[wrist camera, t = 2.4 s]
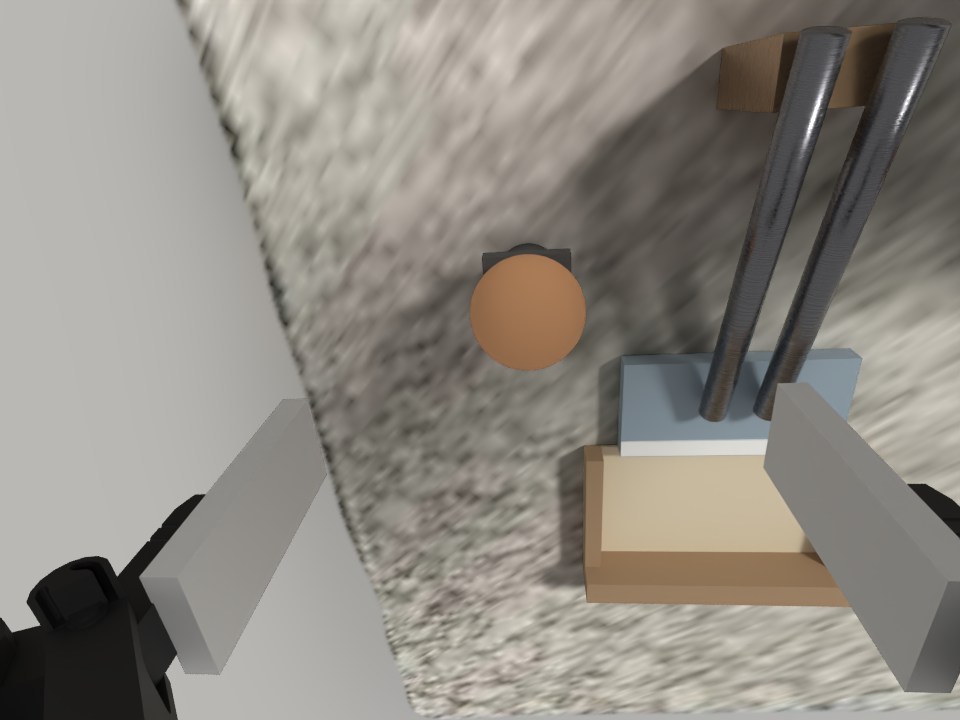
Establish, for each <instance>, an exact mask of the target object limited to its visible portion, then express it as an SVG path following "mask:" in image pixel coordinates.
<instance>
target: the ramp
mask: <svg viewBox="0 0 960 720" xmlns="http://www.w3.org/2000/svg"><path fill="white" fill-rule="evenodd" d="M951 25H952V23H951V22H950V21H947V20H944V19H939V18H929V17H916V18H906V19H902V20H899V21H898V22H897V23H891V24H880V25H869V26H858V27H847V28H843V27H836V26H817V27H810V28H806V29H804V30H802V31H801V32H792V33H783V34H779V35H774V36H770V37H766V38H762V39H758V40H754V41H750V42H745V43H741V44H737V45H733V46H729V47H725V48H723V49H722V59H721V69H720V79H719V89H718V98H717V108H716V109H729V110H742V111H755V112H768V113H777V112H779V115H778V119H777V122H776V126H775V130H774V133H773V137H772V141H771V144H770V148H769V152H768V155H767V159H766V163H765V167H764V170H763V174H762V178H761V181H760V185H759V189H758V192H757V196H756V200H755V203H754V207H753V211H752V214H751V218H750V222H749V226H748V229H747V233H746V237H745V240H744V244H743V248H742V251H741V255H740V259H739V262H738V266H737V270H736V273H735V277H734V281H733V285H732V288H731V292H730V296H729V299H728V303H727V307H726V310H725V314H724V318H723V321H722V325H721V329H720V332H719V336H718V340H717V343H716V347H715V351H714V355H713V358H712V362H711V366H710V369H709V373H708V377H707V380H706V384H705V388H704V391H703V395H702V399H701V402H700V406H699V414H700V415H701V417H702V418H704V419H705V420H707V421H710V422H721V421H723V420H724V419H725V418H726V415H727V412H728V409H729V406H730V403H731V400H732V397H733V394H734V391H735V388H736V385H737V382H738V379H739V376H740V373H741V370H742V367H743V364H744V361H745V358H746V355H747V351H748V348H749V345H750V342H751V339H752V336H753V333H754V330H755V327H756V324H757V321H758V318H759V315H760V312H761V309H762V306H763V303H764V300H765V297H766V294H767V291H768V288H769V284H770V281H771V278H772V275H773V272H774V269H775V266H776V263H777V260H778V257H779V254H780V251H781V248H782V245H783V242H784V239H785V236H786V233H787V230H788V227H789V224H790V221H791V218H792V214H793V211H794V208H795V205H796V202H797V199H798V196H799V193H800V190H801V187H802V184H803V181H804V178H805V175H806V172H807V169H808V166H809V163H810V160H811V157H812V154H813V151H814V147H815V144H816V141H817V138H818V135H819V132H820V129H821V126H822V123H823V120H824V117H825V114H826V111H827V109H829V108H843V107H856V106H865V109H864V112H863V114H862V117H861V120H860V122H859V125H858V128H857V130H856V133H855V136H854V138H853V141H852V144H851V146H850V149H849V152H848V154H847V157H846V160H845V162H844V165H843V168H842V170H841V173H840V176H839V178H838V181H837V184H836V186H835V189H834V192H833V194H832V197H831V200H830V202H829V205H828V208H827V210H826V213H825V216H824V219H823V221H822V224H821V227H820V229H819V232H818V235H817V237H816V240H815V243H814V245H813V248H812V251H811V253H810V256H809V259H808V261H807V264H806V267H805V269H804V272H803V275H802V277H801V280H800V283H799V285H798V288H797V291H796V293H795V296H794V299H793V301H792V304H791V307H790V309H789V312H788V315H787V318H786V320H785V323H784V326H783V328H782V331H781V334H780V336H779V339H778V342H777V344H776V347H775V350H774V352H773V355H772V358H771V360H770V363H769V366H768V368H767V371H766V374H765V376H764V379H763V382H762V384H761V387H760V390H759V392H758V395H757V398H756V400H755V403H754V406H753V411H754V413H755V415H756V416H757V417H759V418H760V419H763V420H766V421H771V419H772V413H773V407H774V401H775V396H776V390H777V384H778V383H796V381H797V379H798V377H799V375H800V372H801V370H802V368H803V365H804V363H805V361H806V359H807V356H808V354H809V352H810V349H811V347H812V345H813V342H814V340H815V338H816V336H817V333H818V331H819V329H820V326H821V324H822V322H823V319H824V317H825V315H826V313H827V310H828V308H829V306H830V303H831V301H832V299H833V297H834V294H835V292H836V290H837V287H838V285H839V283H840V280H841V278H842V276H843V274H844V271H845V269H846V267H847V264H848V262H849V260H850V257H851V255H852V253H853V251H854V248H855V246H856V244H857V241H858V239H859V237H860V234H861V232H862V230H863V228H864V225H865V223H866V221H867V218H868V216H869V214H870V212H871V209H872V207H873V205H874V202H875V200H876V198H877V195H878V193H879V191H880V189H881V186H882V184H883V182H884V179H885V177H886V175H887V172H888V170H889V168H890V166H891V163H892V161H893V159H894V156H895V154H896V152H897V150H898V147H899V145H900V143H901V140H902V138H903V136H904V133H905V131H906V129H907V127H908V124H909V122H910V120H911V117H912V115H913V113H914V110H915V108H916V106H917V104H918V101H919V99H920V97H921V94H922V92H923V90H924V88H925V85H926V83H927V81H928V78H929V76H930V74H931V71H932V69H933V67H934V65H935V62H936V60H937V58H938V55H939V53H940V51H941V48H942V46H943V44H944V42H945V39H946V37H947V35H948V32H949V30H950V28H951Z"/></svg>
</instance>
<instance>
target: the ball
mask: <svg viewBox="0 0 960 720" xmlns="http://www.w3.org/2000/svg"><path fill="white" fill-rule="evenodd" d="M470 321H471V326H472V330H473V333H474V335H475V338H476V340H477V341H478V343H479V345H480V346H481V347H482V349H483V350H484V351H485V352H486V353H487V354H488V355H489V356H490V357H491V358H492V359H494V360H495V361H497V362H498V363H500V364H502V365H504V366H507V367H509V368H513V369H518V370H537V369H542V368H546V367H549V366H551V365H553V364H555V363H557V362H559V361H560V360H562V359H563V358H564V357H565V356H567V355H568V354H569V353H570V351H571V350H572V349H573V348H574V347H575V345H576V344H577V342H578V341H579V339H580V337H581V334H582V332H583V329H584V325H585V321H586V303H585V299H584V295H583V292H582V289H581V287H580V285H579V283H578V282H577V280H576V279H575V277H574V276H573V275H572V274H571V272H570V271H569V270H568V269H566V268H565V267H564V266H563V265H561V264H560V263H558V262H556V261H555V260H552V259H550V258H548V257H544V256H541V255H534V254H523V255H516V256H512V257H509V258H507V259H504V260H502V261H500V262H499V263H497V264H496V265H494V266H493V267H492V268H490V269H489V270H488V271H487V272H486V273H485V274H484V275H483V277H482V278H481V279H480V281H479V282H478V284H477V286H476V288H475V290H474V293H473V296H472V299H471V305H470Z"/></svg>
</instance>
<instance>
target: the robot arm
mask: <svg viewBox="0 0 960 720" xmlns="http://www.w3.org/2000/svg"><path fill="white" fill-rule="evenodd" d="M763 468H764V469H765V471H766V473H767V474H768V476H769V477H770V479H771V481H772V482H773V484H774V485H775V487H776V489H777V490H778V492H779V493H780V495H781V496H782V498H783V500H784V501H785V503H786V504H787V506H788V508H789V509H790V511H791V512H792V514H793V516H794V517H795V519H796V520H797V522H798V523H799V525H800V527H801V528H802V530H803V531H804V533H805V535H806V536H807V538H808V539H809V541H810V542H811V544H812V546H813V547H814V549H815V550H816V552H817V554H818V555H819V557H820V558H821V560H822V562H823V563H824V565H825V566H826V568H827V569H828V571H829V573H830V574H831V576H832V577H833V579H834V581H835V582H836V584H837V585H838V587H839V589H840V590H841V592H842V593H843V595H844V596H845V598H846V600H847V601H848V603H849V604H850V606H851V608H852V609H853V611H854V612H855V614H856V615H857V617H858V619H859V620H860V622H861V623H862V625H863V627H864V628H865V630H866V631H867V633H868V635H869V636H870V638H871V639H872V641H873V642H874V644H875V646H876V647H877V649H878V650H879V652H880V654H881V655H882V657H883V658H884V660H885V662H886V663H887V665H888V666H889V668H890V669H891V671H892V673H893V674H894V676H895V677H896V679H897V681H898V682H899V684H900V685H901V687H902V689H903V690H904V692H927V693H951V691H952V689H953V687H954V685H955V683H956V680H957V678H958V676H959V674H960V506H959V505H957V504H956V503H955V502H954V501H953V500H952V499H950V498H949V497H947V496H945V495H944V494H942V493H940V492H938V491H937V490H935V489H933V488H932V487H930V486H928V485H926V484H906V483H905V482H904V481H903V480H902V479H901V478H900V477H899V476H898V475H897V474H896V473H895V472H894V470H893V469H892V468H891V467H890V466H889V465H888V464H887V463H886V462H885V461H884V460H883V459H882V458H881V457H880V456H879V455H878V454H877V453H876V452H875V451H874V450H873V449H872V448H871V447H870V446H869V445H868V444H867V443H866V442H865V441H864V440H863V439H862V438H861V437H860V436H859V435H858V433H857V432H856V431H855V430H854V429H853V428H852V427H851V426H850V425H849V424H848V423H847V422H846V421H845V420H844V419H843V418H842V417H841V416H840V415H839V414H838V413H837V412H836V411H835V410H834V409H833V408H832V407H831V406H830V405H829V404H828V403H827V402H826V401H825V400H824V399H823V397H822V396H821V395H820V394H819V393H818V392H817V391H816V390H815V389H814V388H813V387H812V386H811V385H810V384H809V383H808V382H805V383H778V384H777V390H776V396H775V401H774V407H773V413H772V419H771V424H770V430H769V436H768V442H767V447H766V453H765V459H764V465H763ZM326 475H327V473H326V469H325V465H324V461H323V457H322V453H321V449H320V445H319V441H318V437H317V433H316V429H315V425H314V421H313V417H312V413H311V409H310V405H309V401H308V399H283V400H282V401H281V402H280V404H279V405H278V406H277V407H276V409H275V410H274V411H273V412H272V414H271V415H270V416H269V418H268V419H267V420H266V421H265V422H264V423H263V425H262V426H261V427H260V428H259V430H258V431H257V432H256V433H255V435H254V436H253V437H252V438H251V440H250V441H249V442H248V443H247V444H246V446H245V447H244V448H243V450H242V451H241V452H240V453H239V454H238V456H237V457H236V458H235V459H234V461H233V462H232V463H231V464H230V466H229V467H228V468H227V469H226V471H225V472H224V473H223V474H222V475H221V477H220V478H219V479H218V480H217V482H216V483H215V484H214V485H213V487H212V488H211V489H210V490H209V492H208V493H207V494H202V495H194V496H192V497H191V498H190V499H188V500H187V501H186V502H184V503H183V504H181V505H180V506H179V507H177V508H176V509H175V510H174V511H173V512H172V513H171V515H170V516H169V517H168V518H167V519H166V520H165V521H164V523H163V524H162V527H161V528H159V529H158V530H157V531H156V532H155V533H154V534H153V535H152V537H151V538H150V541H148V542H147V543H146V544H145V545H144V546H143V547H142V548H141V550H140V551H139V552H138V553H137V554H136V555H135V557H134V558H133V559H132V560H131V561H130V562H129V564H128V565H127V566H126V567H125V568H124V570H123V571H122V572H121V573H120V574H119V576H116V574H115V572H114V570H113V568H112V566H111V564H110V563H109V561H108V559H106V558H103V557H99V556H94V557H84V558H81V559H78V560H75V561H72V562H69V563H67V564H65V565H63V566H61V567H59V568H57V569H55V570H54V571H52V572H51V573H50V574H48V575H47V576H46V577H44V578H43V579H42V580H40V581H39V583H38V584H37V585H36V586H35V587H34V588H33V589H32V591H31V592H30V594H29V597H28V600H27V604H28V606H29V607H30V609H31V610H32V612H33V613H34V615H35V617H36V618H37V620H38V622H39V623H40V626H36V627H32V628H28V629H25V630H21V631H16V632H13V633H12V632H11V631H10V629H9V628H8V626H7V625H6V624H5V622H4V621H3V620H2V618H0V720H178V719H177V714H176V709H175V704H174V699H173V694H172V689H171V684H170V681H169V679H168V677H167V675H166V673H165V672H166V671H167V669H168V667H169V665H170V664H171V663H172V661H173V659H174V658H175V656H176V655H177V657H178V659H179V662H180V663H181V666H182V668H183V670H184V672H185V674H213V675H220V674H221V672H222V670H223V668H224V666H225V665H226V663H227V661H228V659H229V657H230V655H231V653H232V651H233V649H234V648H235V646H236V644H237V642H238V640H239V638H240V636H241V634H242V633H243V631H244V629H245V627H246V625H247V623H248V621H249V619H250V618H251V616H252V614H253V612H254V610H255V608H256V606H257V604H258V603H259V601H260V599H261V597H262V595H263V593H264V591H265V589H266V587H267V586H268V584H269V582H270V580H271V578H272V576H273V574H274V573H275V571H276V569H277V567H278V565H279V563H280V561H281V559H282V558H283V556H284V554H285V552H286V550H287V548H288V546H289V544H290V543H291V541H292V539H293V537H294V535H295V533H296V531H297V529H298V528H299V526H300V524H301V522H302V520H303V518H304V516H305V514H306V513H307V511H308V509H309V507H310V505H311V503H312V501H313V499H314V497H315V496H316V494H317V492H318V490H319V488H320V486H321V484H322V483H323V480H324V479H325V477H326Z"/></svg>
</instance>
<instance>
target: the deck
mask: <svg viewBox="0 0 960 720" xmlns="http://www.w3.org/2000/svg"><path fill="white" fill-rule="evenodd" d="M773 352H774V351H757V352H747V355H746V358H745V361H744V364H743V367H742V370H741V373H740V376H739V379H738V382H737V385H736V388H735V391H734V394H733V397H732V400H731V403H730V406H729V409H728V412H727V415H726V418H725V419H724V420H723V421H721V422H710V421H707V420H705V419H704V418H702V417H701V415H700V414H699V406H700V402H701V399H702V395H703V391H704V388H705V384H706V380H707V377H708V373H709V369H710V366H711V362H712V358H713V355H714V353H693V354H662V355H630V356H621V370H620V394H619V419H618V444H617V445H618V449H619V453H620V457H654V456H737V455H765V453H766V447H767V442H768V436H769V430H770V424H771V421H766V420H763V419H760V418H759V417H757V416H756V415H755V413H754V411H753V406H754V403H755V400H756V398H757V395H758V392H759V390H760V387H761V384H762V382H763V379H764V376H765V374H766V371H767V368H768V366H769V363H770V360H771V358H772V355H773ZM861 362H862V358H861V357H860V356H859V355H858V354H856V353H855V352H854V351H853V350H851V349H820V350H810V352H809V354H808V356H807V359H806V361H805V363H804V365H803V368H802V370H801V372H800V375H799V377H798V379H797V381H796V383H805V382H808V383H809V384H810V385H811V386H812V387H813V388H814V389H815V390H816V391H817V392H818V393H819V394H820V395H821V396H822V397H823V399H824V400H825V401H826V402H827V403H828V404H829V405H830V406H831V407H832V408H833V409H834V410H835V411H836V412H837V413H838V414H839V415H840V416H841V417H842V418H843V419H844V420H845V421H847V417H848V413H849V409H850V405H851V401H852V397H853V393H854V389H855V385H856V381H857V377H858V373H859V370H860V366H861Z"/></svg>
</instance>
